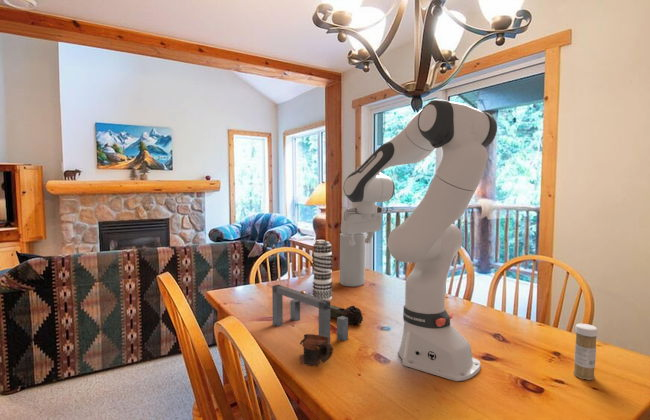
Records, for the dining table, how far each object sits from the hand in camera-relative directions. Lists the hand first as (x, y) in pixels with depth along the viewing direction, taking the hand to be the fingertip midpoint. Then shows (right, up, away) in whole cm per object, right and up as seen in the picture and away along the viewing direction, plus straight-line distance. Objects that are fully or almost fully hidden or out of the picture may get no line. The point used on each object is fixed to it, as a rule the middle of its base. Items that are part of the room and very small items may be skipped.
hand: (360, 244), depth 141 cm
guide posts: (-16, -28, -13) cm, 35 cm away
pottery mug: (-16, -30, -36) cm, 49 cm away
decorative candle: (-15, -26, +21) cm, 36 cm away
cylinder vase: (0, -24, +45) cm, 51 cm away
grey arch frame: (-22, -28, -19) cm, 40 cm away
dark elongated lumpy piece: (-7, -28, -4) cm, 29 cm away
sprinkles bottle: (+54, -31, -45) cm, 77 cm away
